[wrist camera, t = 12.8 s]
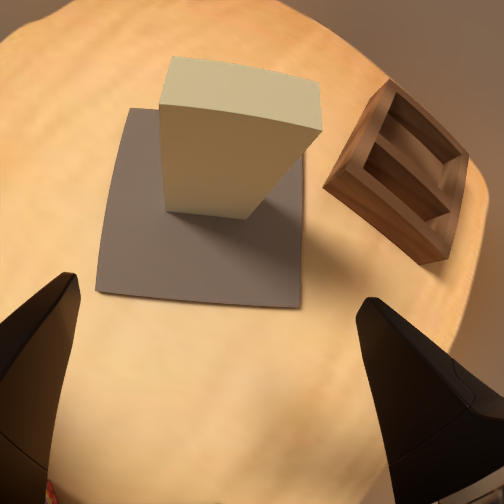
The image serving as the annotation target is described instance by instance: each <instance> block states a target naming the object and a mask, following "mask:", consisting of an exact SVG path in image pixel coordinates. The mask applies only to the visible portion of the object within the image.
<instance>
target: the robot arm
mask: <svg viewBox="0 0 504 504" xmlns="http://www.w3.org/2000/svg"><path fill="white" fill-rule="evenodd" d="M80 301H81V294H80V289H79V284H78V278H77V275H76V274H75V273H69V272H63V273H61V274H60V275H58V276H57V277H56V278H55V279H53V280H52V281H51V282H49V283H48V284H47V285H46V286H44V287H43V288H42V289H41V290H39V291H38V292H37V293H36V294H34V295H33V296H32V297H31V298H30V299H28V300H27V301H26V302H25V303H24V304H22V305H21V306H20V307H19V308H18V309H16V310H15V311H14V312H13V313H12V314H11V315H9V316H8V317H7V318H6V319H5V320H4V321H2V322H1V323H0V504H45V500H46V486H47V475H48V472H47V471H48V465H49V457H50V449H51V442H52V436H53V430H54V424H55V419H56V413H57V408H58V403H59V399H60V394H61V389H62V385H63V381H64V377H65V372H66V368H67V365H68V361H69V357H70V353H71V349H72V344H73V339H74V333H75V327H76V322H77V317H78V311H79V306H80ZM356 325H357V331H358V336H359V341H360V347H361V353H362V358H363V362H364V366H365V370H366V373H367V377H368V381H369V385H370V388H371V392H372V396H373V400H374V404H375V408H376V412H377V416H378V420H379V424H380V429H381V433H382V438H383V442H384V447H385V451H386V456H387V461H388V465H389V471H390V476H391V482H392V487H393V493H394V498H395V504H432V503H434V502H437V501H438V504H504V397H502V396H500V395H499V394H498V393H496V392H495V391H494V390H492V389H491V388H490V387H488V386H487V385H486V384H484V383H483V382H482V381H480V380H479V379H478V378H476V377H475V376H474V375H472V374H471V373H470V372H468V371H467V370H466V369H465V368H464V367H463V366H461V365H460V364H459V363H458V362H457V361H455V360H454V359H453V358H451V357H450V356H449V355H448V354H447V353H446V352H445V351H443V350H442V349H441V348H440V347H439V346H437V345H436V344H435V343H434V342H433V341H431V340H430V339H429V338H428V337H427V336H425V335H424V334H423V333H422V332H420V331H419V330H418V329H417V328H416V327H414V326H413V325H412V324H411V323H409V322H408V321H407V320H406V319H404V318H403V317H402V316H401V315H399V314H398V313H397V312H396V311H394V310H393V309H392V308H391V307H389V306H388V305H387V304H386V303H384V302H383V301H382V300H381V299H379V298H377V297H368V298H366V299H365V300H364V302H363V304H362V306H361V307H360V309H359V311H358V313H357V315H356Z"/></svg>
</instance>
